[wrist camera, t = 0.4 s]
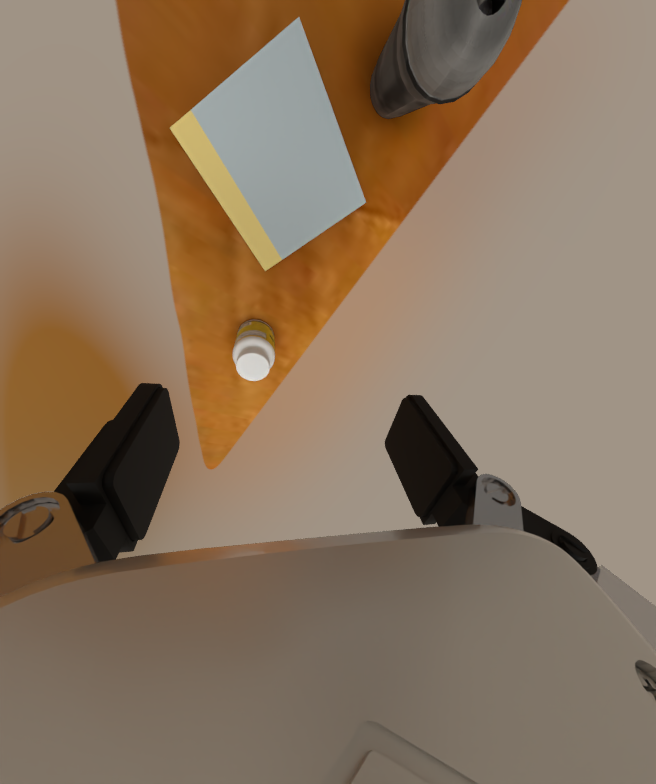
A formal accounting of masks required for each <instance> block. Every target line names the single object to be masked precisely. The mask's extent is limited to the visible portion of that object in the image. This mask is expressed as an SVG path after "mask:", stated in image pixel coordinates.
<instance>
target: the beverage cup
mask: <svg viewBox="0 0 656 784" xmlns="http://www.w3.org/2000/svg"><path fill="white" fill-rule="evenodd" d="M521 2H522V0H405V3H404V6H403V9H402V12H401V14H400V16H399V18H398V20H397V22H396V24H395V26H394V28H393V30H392V32H391V34H390V36H389V38H388V40H387V42H386V44H385V46H384V48H383V50H382V52H381V54H380V56H379V59H378V61H377V64H376V66H375V69H374V71H373V74H372V78H371V84H370V96H371V100H372V104H373V106H374V108H375V110H376V112H377V113H378V114H379V115H380V116H381V117H383V118H387V119H390V118H395V117H399V116H402V115H405V114H407V113H410V112H412V111H415V110H417V109H420V108H422V107H424V106H427V105H429V104H435V103H437V104H444V103H449V102H454V101H456V100H457V99H459V98H461V97H462V96H464V95H465V94H467V93H468V92H469V91H470V90H471V89H472V88H473V87H474V85H475V84H476V83H477V82H478V81H479V80H480V79H481V78H482V76H483V75H484V74H485V73H486V72H487V71H488V70H489V68H490V67H491V66H492V65H493V64H494V63H495V61H496V59H497V58H498V56H499V54H500V52H501V51H502V49H503V47H504V45H505V43H506V42H507V40H508V38H509V36H510V34H511V31H512V29H513V26H514V23H515V20H516V18H517V15H518V12H519V9H520V6H521Z"/></svg>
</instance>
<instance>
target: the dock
mask: <svg viewBox="0 0 656 784" xmlns="http://www.w3.org/2000/svg"><path fill="white" fill-rule="evenodd" d="M170 129H171V131H172V132H173V134H174V135H175V137H176V138H177V140H178V141H179V143H180V144H181V146H182V147H183V149H184V150H185V152H186V153H187V155H188V156H189V158H190V159H191V161H192V162H193V164H194V165H195V167H196V168H197V170H198V171H199V173H200V174H201V176H202V177H203V179H204V180H205V182H206V183H207V185H208V186H209V188H210V189H211V191H212V192H213V194H214V195H215V197H216V198H217V200H218V201H219V203H220V204H221V206H222V207H223V209H224V210H225V212H226V213H227V215H228V216H229V218H230V219H231V221H232V222H233V224H234V225H235V227H236V228H237V230H238V231H239V233H240V234H241V236H242V237H243V239H244V240H245V242H246V243H247V245H248V246H249V248H250V249H251V251H252V252H253V254H254V255H255V257H256V258H257V260H258V261H259V263H260V264H261V266H262V267H263V269H264V270H265V271H266V270H268V269H269V268H271V267H272V266H274V265H275V264H277V263H278V262H280V261H281V260H283V259H284V258H286V257H287V256H288V255H290V254H291V253H293V252H294V251H296V250H297V249H299V248H300V247H302V246H303V245H305V244H306V243H308V242H309V241H310V240H312V239H313V238H315V237H316V236H318V235H319V234H321V233H322V232H324V231H325V230H327V229H328V228H329V227H331V226H332V225H334V224H335V223H337V222H338V221H340V220H341V219H343V218H344V217H346V216H347V215H349V214H350V213H351V212H353V211H354V210H356V209H357V208H359V207H360V206H362V205H363V204H365V203H366V201H365V198H364V195H363V192H362V190H361V187H360V184H359V181H358V179H357V176H356V173H355V170H354V167H353V165H352V162H351V159H350V156H349V154H348V151H347V148H346V145H345V143H344V140H343V137H342V134H341V131H340V129H339V126H338V123H337V120H336V118H335V115H334V112H333V109H332V107H331V104H330V101H329V98H328V95H327V93H326V90H325V87H324V84H323V82H322V79H321V76H320V73H319V71H318V68H317V65H316V62H315V59H314V57H313V54H312V51H311V48H310V46H309V43H308V40H307V37H306V35H305V32H304V29H303V26H302V23H301V21H300V18H299V17H298V18H297V19H296V20H295V21H293V22H292V23H291V24H290V25H289V26H288V27H286V28H285V29H284V30H283V31H282V32H281V33H279V34H278V35H277V36H276V37H275V38H274V39H272V40H271V41H270V42H269V43H268V44H267V45H266V46H264V47H263V48H262V49H261V50H260V51H259V52H257V53H256V54H255V55H254V56H253V57H252V58H250V59H249V60H248V61H247V62H246V63H245V64H243V65H242V66H241V67H240V68H239V69H238V70H236V71H235V72H234V73H233V74H232V75H231V76H230V77H228V78H227V79H226V80H225V81H224V82H223V83H221V84H220V85H219V86H218V87H217V88H216V89H214V90H213V91H212V92H211V93H210V94H209V95H207V96H206V97H205V98H204V99H203V100H202V101H200V102H199V103H198V104H197V105H196V106H195V107H194V108H192V109H191V110H190V111H189V112H188V113H187V114H185V115H184V116H183V117H182V118H181V119H180V120H178V121H177V122H176V123H175V124H174V125H173V126H171V127H170Z"/></svg>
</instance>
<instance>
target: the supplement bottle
mask: <svg viewBox="0 0 656 784" xmlns="http://www.w3.org/2000/svg"><path fill="white" fill-rule="evenodd" d="M233 360H234V363H235V364H236V369H237V372H238V373H239V375H240V376H241V377H243V378H244V379H246V380H250V381H258V380H261V379H263V378H264V377H266V376H267V374H268V373H269V370H270V368H271V367H272V365H273V363H274V360H275V340H274V333H273V330H272V329H271V327H270V326H269V325H268V324H267V323H265V322H263V321H261V320H249V321H246V322H244V323H243V324H242V325H241V326H240V328H239V330H238V333H237V337H236V341H235V345H234V349H233Z"/></svg>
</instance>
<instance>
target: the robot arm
mask: <svg viewBox="0 0 656 784" xmlns="http://www.w3.org/2000/svg"><path fill="white" fill-rule="evenodd" d="M385 447H386V450H387V452H388V454H389V456H390V459H391V461H392V463H393V465H394V468H395V470H396V472H397V474H398V476H399V479H400V481H401V483H402V485H403V488H404V490H405V492H406V494H407V496H408V499H409V501H410V503H411V505H412V508H413V509H414V512H415V514H416V515H417V516H418V517H420V519H421V521H422V523H423V525H428V524H435V523H436V522H437V524H438V526H439V527H427V528H416V529H405V530H393V531H383V532H371V533H360V534H349V535H338V536H327V537H317V538H306V539H295V540H285V541H275V542H265V543H255V544H244V545H234V546H224V547H214V548H204V549H195V550H185V551H177V552H168V553H160V554H151V555H142V556H135V557H128V558H122V559H116V558H117V555H118V553H119V552H130V551H134V548H135V546H136V543H137V541H138V540H142V539H143V538H144V537H145V535H146V532H147V530H148V527H149V525H150V522H151V520H152V517H153V515H154V512H155V509H156V507H157V504H158V502H159V499H160V496H161V494H162V491H163V489H164V486H165V483H166V481H167V478H168V476H169V473H170V471H171V468H172V465H173V463H174V460H175V457H176V455H177V453H178V450H179V437H178V433H177V428H176V423H175V419H174V415H173V410H172V406H171V401H170V397H169V392H168V390H167V389H166V388H163V387H162V385H161V384H149V383H141V384H140V385H139V386H138V387H137V388H136V390H135V391H134V392H133V394H132V395H131V397H130V398H129V399H128V400H127V402H126V403H125V405H124V406H123V407H122V409H121V410H120V411H119V413H118V414H117V415H116V417H115V418H114V419H113V420H111V421H108V422H107V423H106V424H105V425H104V426H103V428H102V429H101V430H100V432H99V433H98V434H97V436H96V437H95V438H94V440H93V441H92V442H91V444H90V445H89V446H88V447H87V449H86V450H85V452H84V453H83V454H82V455H81V457H80V458H79V459H78V461H77V462H76V463H75V465H74V466H73V467H72V468H71V470H70V471H69V473H68V474H67V475H66V476H65V478H64V479H63V480H62V482H61V483H60V484H59V486H58V487H57V488H56V489H55V491H54V492H41V493H36V494H31V495H29V496H26V497H23V498H20V499H18V500H16V501H14V502H12V503H10V504H8V505H6V506H5V507H3V508H2V509H1V510H0V784H656V606H654V605H653V604H651V602H649V601H648V600H647V599H645V598H644V597H643V596H641V595H640V594H639V593H638V592H636V591H635V590H634V589H632V588H631V587H630V586H628V585H627V584H626V583H625V582H623V581H622V580H621V579H619V578H618V577H617V576H615V575H614V574H613V573H611V572H610V571H609V570H608V569H606V568H605V567H604V566H602V565H601V566H600V567H597V564H596V561H595V559H594V557H593V556H592V554H591V553H590V551H589V550H588V549H587V548H586V547H585V545H583V543H582V542H580V541H579V540H578V539H577V538H575V537H574V536H572V535H571V534H570V533H568V532H566V531H564V530H563V529H561V528H559V527H557V526H556V525H554V524H552V523H550V522H548V521H547V520H545V519H543V518H542V517H540V516H538V515H536V514H534V513H533V512H531V511H529V510H527V509H526V508H524V507H522V506H521V502H520V498H519V496H518V494H517V493H516V491H515V490H514V489H513V488H512V487H511V486H510V485H509V484H508V483H506V482H505V481H504V480H502V479H500V478H498V477H496V476H493V475H490V474H483V475H480V476H479V477H478V476H477V474H476V473H475V472H476V471H477V470H478V468H477V467H476V466H475V464H474V463H473V462H472V461H471V459H470V458H469V456H468V455H467V454H466V453H465V451H464V450H463V449H462V447H461V446H460V445H459V443H458V442H457V441H456V439H455V438H454V437H453V435H452V434H451V433H450V431H449V430H448V429H447V428H446V426H445V425H444V424H443V422H442V421H441V420H440V418H439V417H438V416H437V414H436V413H435V412H434V411H433V409H432V408H431V407H430V405H429V404H428V403H427V402H426V400H425V399H424V398H423V396H421V395H408V396H407V397H406V398H404V399H403V400H402V402H401V404H400V407H399V409H398V412H397V414H396V416H395V419H394V421H393V423H392V426H391V428H390V430H389V433H388V435H387V438H386V440H385Z"/></svg>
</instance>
